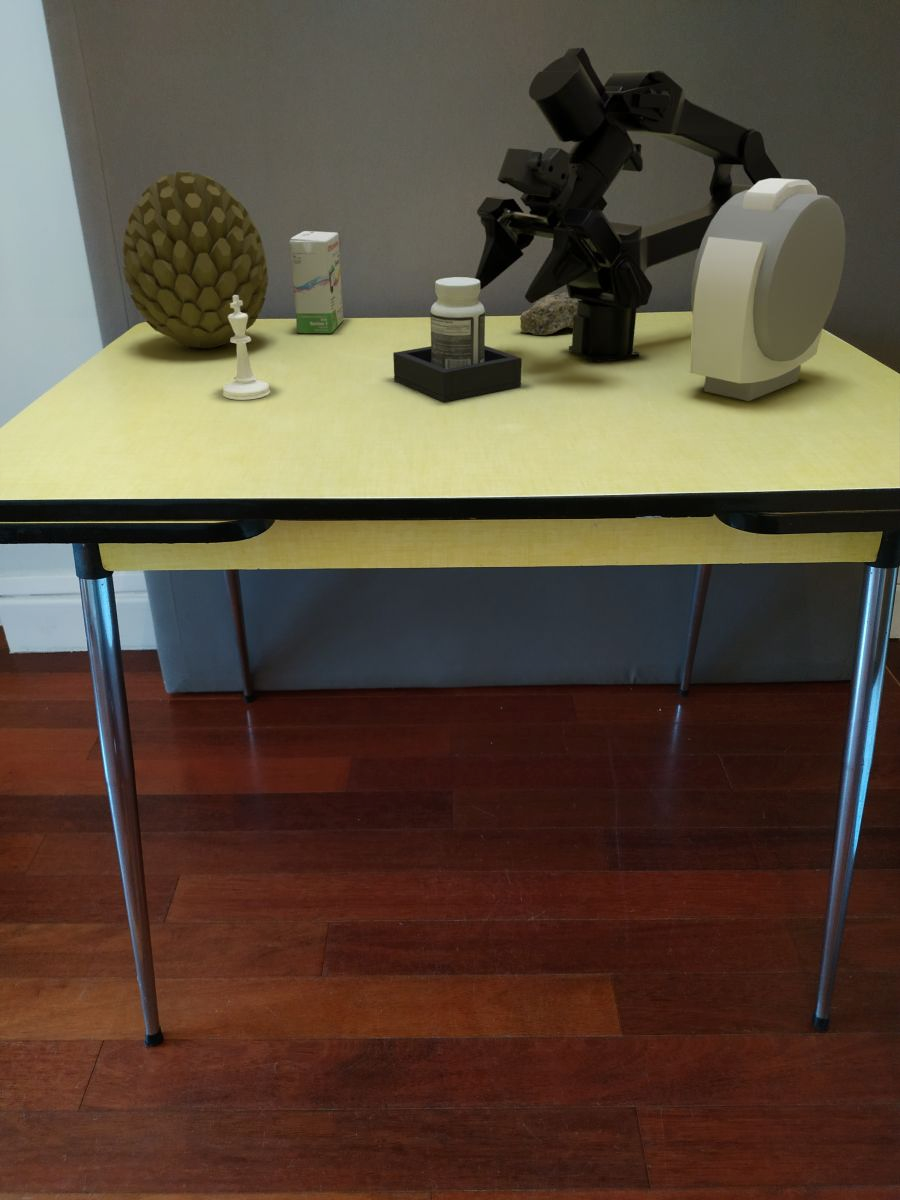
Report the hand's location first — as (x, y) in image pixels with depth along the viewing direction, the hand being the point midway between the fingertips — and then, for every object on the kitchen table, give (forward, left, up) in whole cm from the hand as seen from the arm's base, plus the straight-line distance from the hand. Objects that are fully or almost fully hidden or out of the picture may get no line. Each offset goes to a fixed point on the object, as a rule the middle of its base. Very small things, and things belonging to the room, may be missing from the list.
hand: (501, 293), depth 98 cm
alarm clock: (-23, +14, -9) cm, 29 cm away
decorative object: (+29, -27, -9) cm, 40 cm away
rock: (-15, -19, -9) cm, 26 cm away
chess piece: (+28, -4, -9) cm, 29 cm away
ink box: (+13, -32, -9) cm, 35 cm away
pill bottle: (+6, +1, -8) cm, 10 cm away
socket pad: (+6, +1, -9) cm, 11 cm away
